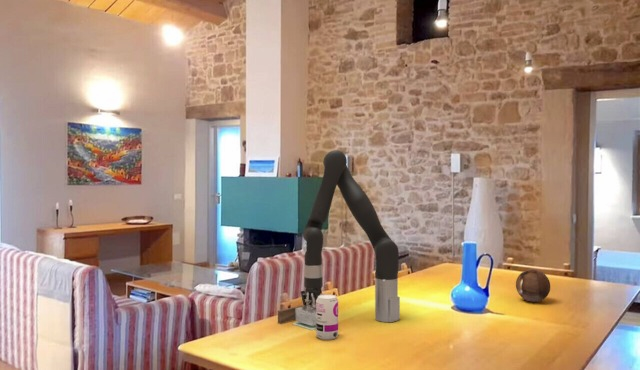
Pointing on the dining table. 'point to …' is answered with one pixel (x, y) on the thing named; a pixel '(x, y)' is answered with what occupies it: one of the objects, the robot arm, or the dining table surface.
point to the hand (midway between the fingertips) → (313, 317)
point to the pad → (305, 325)
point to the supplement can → (327, 317)
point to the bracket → (306, 314)
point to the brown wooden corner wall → (287, 314)
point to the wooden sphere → (533, 285)
